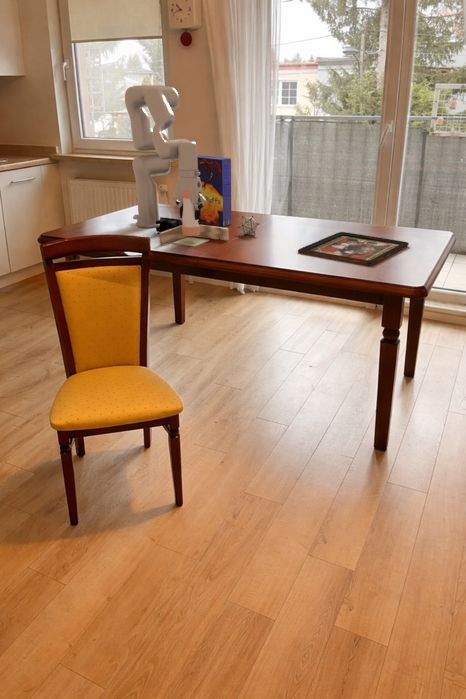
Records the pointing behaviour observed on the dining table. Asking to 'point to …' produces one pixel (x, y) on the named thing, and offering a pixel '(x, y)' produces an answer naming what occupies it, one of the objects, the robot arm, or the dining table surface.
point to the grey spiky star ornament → (248, 225)
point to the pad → (191, 241)
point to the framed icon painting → (354, 248)
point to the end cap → (167, 224)
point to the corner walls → (205, 232)
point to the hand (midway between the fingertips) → (190, 218)
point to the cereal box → (215, 189)
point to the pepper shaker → (189, 216)
